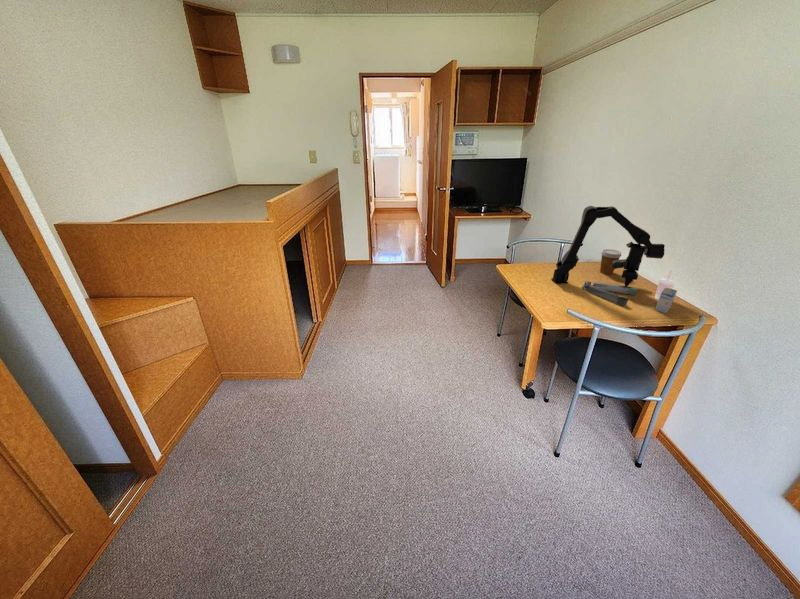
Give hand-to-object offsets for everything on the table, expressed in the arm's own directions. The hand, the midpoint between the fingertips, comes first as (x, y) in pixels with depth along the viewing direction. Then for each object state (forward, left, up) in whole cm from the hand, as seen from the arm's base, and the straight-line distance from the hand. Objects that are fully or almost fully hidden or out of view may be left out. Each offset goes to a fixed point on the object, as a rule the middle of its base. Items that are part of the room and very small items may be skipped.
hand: (626, 286), depth 167 cm
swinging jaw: (-8, -3, -1) cm, 9 cm away
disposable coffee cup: (+4, +22, -2) cm, 22 cm away
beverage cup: (+9, -12, -2) cm, 15 cm away
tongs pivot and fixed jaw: (-16, -7, -1) cm, 17 cm away
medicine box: (+2, -22, -2) cm, 22 cm away
